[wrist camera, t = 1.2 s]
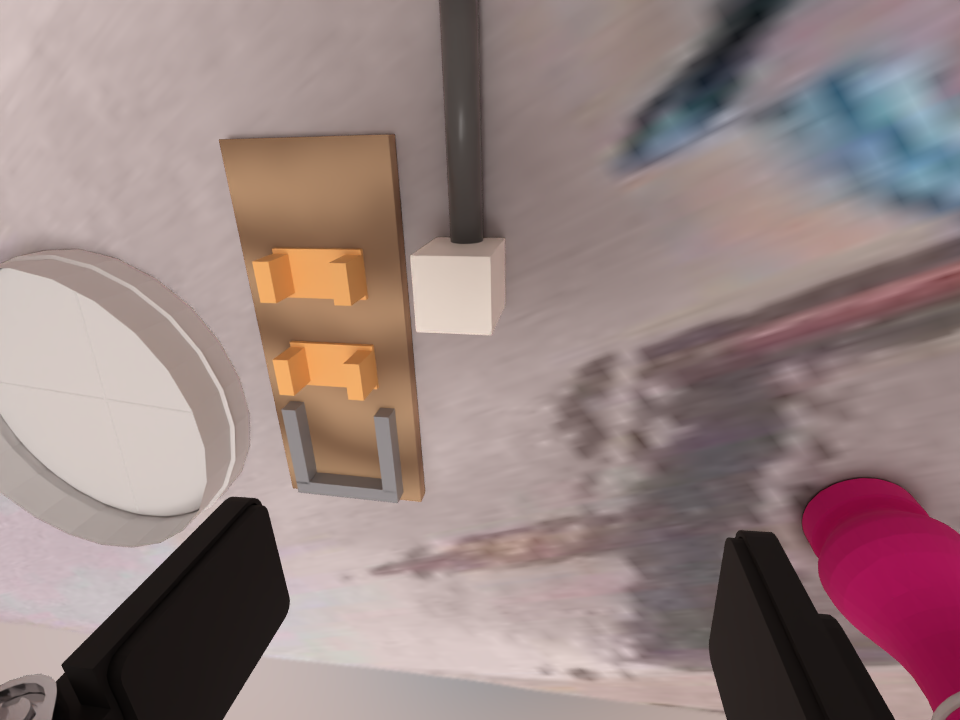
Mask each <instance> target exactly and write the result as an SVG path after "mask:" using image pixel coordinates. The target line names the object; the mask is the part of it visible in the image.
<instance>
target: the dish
mask: <svg viewBox="0 0 960 720" xmlns="http://www.w3.org/2000/svg"><path fill="white" fill-rule="evenodd" d="M249 447H250V413H249V409H248V406H247V402H246V399H245V395H244V392H243V388H242V385H241V382H240V378H239V376H238V374H237V373H236V371H235V369H234V367H233V365H232V363H231V362H230V360H229V358H228V356H227V354H226V352H225V351H224V349H223V347H222V345H221V343H220V341H219V340H218V339H217V338H216V337H215V335H214V334H213V333H212V332H211V331H210V329H209V328H208V327H207V326H206V325H205V323H204V322H203V321H202V320H201V319H200V317H199V316H198V315H197V314H196V313H195V311H194V310H193V309H192V308H191V307H190V306H189V305H188V304H186V303H185V302H184V301H183V300H181V299H180V298H179V297H178V296H176V295H175V294H174V293H173V292H172V291H170V290H169V289H168V288H167V287H165V286H164V285H163V284H162V283H160V282H159V281H158V280H157V279H155V278H153V277H151V276H149V275H148V274H146V273H144V272H142V271H140V270H138V269H136V268H134V267H132V266H130V265H128V264H126V263H125V262H123V261H121V260H119V259H116V258H113V257H109V256H105V255H101V254H97V253H93V252H89V251H85V250H81V249H67V250H47V251H41V252H36V253H31V254H27V255H22V256H17V257H14V258H12V259H10V260H8V261H5V262H3V263H1V264H0V492H1V493H2V494H3V495H4V496H6V497H7V498H8V499H10V500H11V501H13V502H14V503H15V504H17V505H18V506H20V507H21V508H23V509H24V510H25V511H27V512H28V513H30V514H31V515H33V516H34V517H35V518H37V519H39V520H41V521H43V522H45V523H47V524H49V525H51V526H53V527H55V528H57V529H59V530H61V531H63V532H65V533H67V534H69V535H72V536H75V537H79V538H82V539H85V540H88V541H92V542H95V543H98V544H101V545H111V546H122V547H139V546H145V545H150V544H156V543H161V542H163V541H165V540H166V539H168V538H170V537H172V536H174V535H176V534H177V533H179V532H181V531H183V530H184V529H185V528H186V527H187V526H188V525H189V524H190V523H191V522H192V521H193V520H194V519H195V518H196V517H197V516H198V515H199V514H200V513H201V512H202V511H204V510H206V509H208V508H210V507H211V506H212V505H213V504H214V503H215V502H216V501H217V500H218V499H219V498H220V497H221V496H222V495H223V494H224V493H225V492H226V491H227V489H228V488H229V487H230V486H231V484H232V483H233V482H234V481H235V479H236V478H237V477H238V475H239V474H240V473H241V472H242V469H243V466H244V463H245V460H246V456H247V453H248V450H249Z"/></svg>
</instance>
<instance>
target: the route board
mask: <svg viewBox="0 0 960 720" xmlns="http://www.w3.org/2000/svg"><path fill="white" fill-rule="evenodd" d="M219 143H220V148H221V152H222V157H223V162H224V167H225V171H226V176H227V181H228V185H229V190H230V195H231V199H232V204H233V209H234V213H235V218H236V223H237V228H238V232H239V237H240V242H241V246H242V251H243V256H244V260H245V265H246V270H247V274H248V279H249V284H250V289H251V293H252V298H253V303H254V307H255V312H256V317H257V321H258V326H259V331H260V335H261V340H262V345H263V350H264V354H265V359H266V364H267V368H268V373H269V378H270V382H271V387H272V392H273V396H274V401H275V406H276V411H277V415H278V420H279V425H280V429H281V434H282V439H283V443H284V448H285V453H286V457H287V462H288V467H289V472H290V476H291V481H292V486H293V488H296V489H298V487H297V482H296V477H295V473H294V468H293V463H292V458H291V453H290V449H289V444H288V439H287V434H286V429H285V425H284V420H283V415H282V410H281V409H283V408H284V407H285V406H286V405H287V404H288V403H289V402H290V401H297V402H304V404H305V409H306V415H307V420H308V425H309V431H310V436H311V441H312V447H313V452H314V457H315V463H316V468H317V472H320V473H330V474H340V475H350V476H360V477H370V478H380V479H381V471H380V463H379V455H378V447H377V439H376V431H375V423H374V416H375V414H376V413H377V411H378V410H379V409H380V408H393V409H395V416H396V425H397V434H398V444H399V453H400V463H401V472H402V482H403V491H404V492H403V494H402V496H401V498H400V500H409V501H418V502H421V501H422V499H423V497H424V494H425V486H424V474H423V462H422V450H421V439H420V427H419V415H418V403H417V391H416V380H415V368H414V356H413V344H412V332H411V321H410V309H409V297H408V285H407V273H406V262H405V250H404V238H403V226H402V214H401V203H400V191H399V179H398V167H397V155H396V144H395V135H355V136H321V137H287V138H253V139H219ZM272 248H342V249H362V250H363V258H364V267H365V275H366V284H367V292H368V299H367V300H359V301H357V302H356V303H355V304H353V305H352V306H338V305H334V299H318V298H285V299H283V300H281V301H280V302H278V303H261V302H260V298H259V293H258V288H257V283H256V278H255V273H254V269H253V264H252V261H255V260H257V259H260V258H263V257H265V256H268V255H271V254H273V252H272ZM291 341H309V342H329V343H349V344H369V345H374V351H375V360H376V368H377V377H378V385H379V388H378V389H373V390H372V391H371V393H370V394H369V395H368V396H367V397H366V399H365V400H364V401H360V400H348V394H347V387H331V386H316V385H306V386H305V387H304V388H302V389H301V390H300V391H299V392H298V393H297V394H296V395H295V396H290V395H280V394H279V389H278V384H277V380H276V375H275V370H274V365H273V359H274V358H275V357H277V356H278V355H280V354H281V353H282V352H284V351H285V350H287V349H288V348H289V347H290V342H291Z"/></svg>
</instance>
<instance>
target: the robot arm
mask: <svg viewBox="0 0 960 720" xmlns="http://www.w3.org/2000/svg"><path fill="white" fill-rule="evenodd" d="M289 605H290V599H289V594H288V590H287V586H286V582H285V578H284V574H283V570H282V566H281V561H280V557H279V553H278V549H277V545H276V541H275V537H274V533H273V529H272V525H271V521H270V517H269V513H268V510H267V508H266V507H265V506H262V504H261V502H260V501H259V500H258V499H256V498H245V497H230V498H228V499H226V500H225V501H224V502H223V503H222V504H221V505H220V506H219V507H218V508H217V509H216V510H215V511H214V512H213V513H212V514H211V515H210V516H209V517H208V518H207V519H206V520H205V521H204V522H203V523H202V524H201V525H200V526H199V527H198V528H197V529H196V530H195V531H194V532H193V533H192V534H191V535H190V536H189V537H188V538H187V539H186V540H185V541H184V542H183V543H182V544H181V545H180V546H179V547H178V548H177V549H176V550H175V551H174V552H173V553H172V554H171V555H170V556H169V557H168V558H167V559H166V560H165V561H164V562H163V563H162V564H161V565H160V566H159V567H158V568H157V569H156V570H155V571H154V572H153V573H152V574H151V575H150V576H149V577H148V578H147V579H146V580H145V581H144V582H143V583H142V584H141V585H140V586H139V587H138V588H137V589H136V590H135V591H134V592H133V593H132V594H131V595H130V596H129V597H128V598H127V599H126V600H125V601H124V602H123V603H122V604H121V605H120V606H119V607H118V608H117V609H116V610H115V611H114V612H113V613H112V614H111V615H110V616H109V617H108V618H107V619H106V620H105V621H104V622H103V623H102V624H101V625H100V626H99V627H98V628H97V629H96V630H95V631H94V632H93V633H92V634H91V635H90V636H89V637H88V639H86V640H85V641H84V642H83V643H82V644H81V646H80V647H79V648H77V649H76V650H75V651H74V652H73V653H72V655H70V656H69V657H68V659H67V660H65V661H64V663H63V664H62V668H63V670H64V672H65V673H64V674H63V675H62V676H61V677H60V678H59V679H58V680H57V681H56V682H55V681H54V680H53V679H52V677H50V676H46V675H42V674H35V675H26V676H23V677H20V678H17V679H13V680H10V681H8V682H6V683H4V684H2V685H0V720H223V718H224V717H225V715H226V713H227V712H228V710H229V709H230V707H231V705H232V704H233V702H234V700H235V699H236V697H237V695H238V694H239V692H240V690H241V689H242V687H243V686H244V684H245V682H246V681H247V679H248V677H249V676H250V674H251V673H252V671H253V669H254V668H255V666H256V664H257V663H258V661H259V660H260V658H261V656H262V655H263V653H264V652H265V650H266V648H267V647H268V645H269V643H270V642H271V640H272V638H273V637H274V635H275V634H276V632H277V630H278V629H279V627H280V625H281V624H282V622H283V621H284V619H285V617H286V615H287V613H288V610H289ZM709 653H710V660H711V664H712V668H713V671H714V675H715V679H716V682H717V686H718V689H719V693H720V697H721V700H722V704H723V707H724V711H725V715H726V717H727V720H895V719H894V717H893V715H892V713H891V712H890V710H889V708H888V706H887V705H886V703H885V701H884V700H883V698H882V696H881V694H880V693H879V691H878V689H877V687H876V686H875V684H874V682H873V680H872V679H871V677H870V675H869V673H868V672H867V670H866V668H865V667H864V665H863V663H862V661H861V660H860V658H859V656H858V654H857V653H856V651H855V649H854V647H853V646H852V644H851V642H850V640H849V639H848V637H847V635H846V634H845V632H844V630H843V628H842V627H841V626H840V624H839V623H838V621H837V620H836V619H835V618H833V617H832V616H831V615H827V614H818V613H817V611H816V609H815V607H814V605H813V603H812V601H811V600H810V598H809V596H808V594H807V592H806V590H805V589H804V587H803V585H802V583H801V581H800V579H799V577H798V576H797V574H796V572H795V570H794V568H793V566H792V564H791V563H790V561H789V559H788V557H787V555H786V553H785V552H784V550H783V548H782V546H781V544H780V542H779V540H778V539H777V537H776V536H775V534H773V533H772V532H759V531H744V530H740V531H738V532H737V534H736V537H735V538H727V539H726V541H725V546H724V553H723V559H722V565H721V571H720V577H719V584H718V590H717V596H716V602H715V608H714V615H713V621H712V627H711V633H710V639H709Z"/></svg>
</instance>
